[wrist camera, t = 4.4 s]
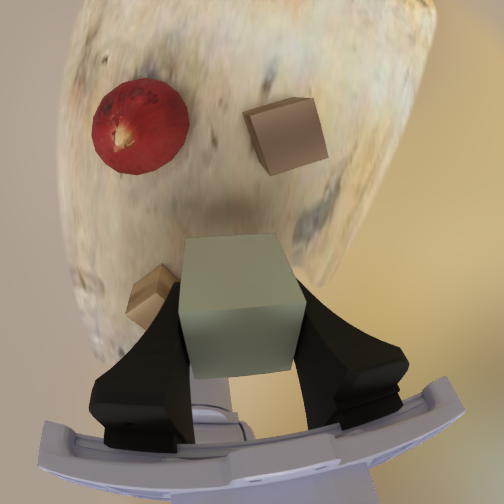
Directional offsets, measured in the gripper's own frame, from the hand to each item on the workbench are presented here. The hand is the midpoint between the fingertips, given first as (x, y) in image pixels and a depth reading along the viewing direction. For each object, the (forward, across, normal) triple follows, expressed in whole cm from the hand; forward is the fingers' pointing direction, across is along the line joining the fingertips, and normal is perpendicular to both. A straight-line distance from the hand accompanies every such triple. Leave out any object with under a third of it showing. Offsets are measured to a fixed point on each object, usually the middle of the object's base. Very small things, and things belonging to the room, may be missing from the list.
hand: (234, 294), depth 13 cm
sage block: (+2, 0, 0) cm, 2 cm away
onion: (+10, +5, -8) cm, 14 cm away
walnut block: (+10, -4, -6) cm, 13 cm away
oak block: (+10, +6, +8) cm, 14 cm away
